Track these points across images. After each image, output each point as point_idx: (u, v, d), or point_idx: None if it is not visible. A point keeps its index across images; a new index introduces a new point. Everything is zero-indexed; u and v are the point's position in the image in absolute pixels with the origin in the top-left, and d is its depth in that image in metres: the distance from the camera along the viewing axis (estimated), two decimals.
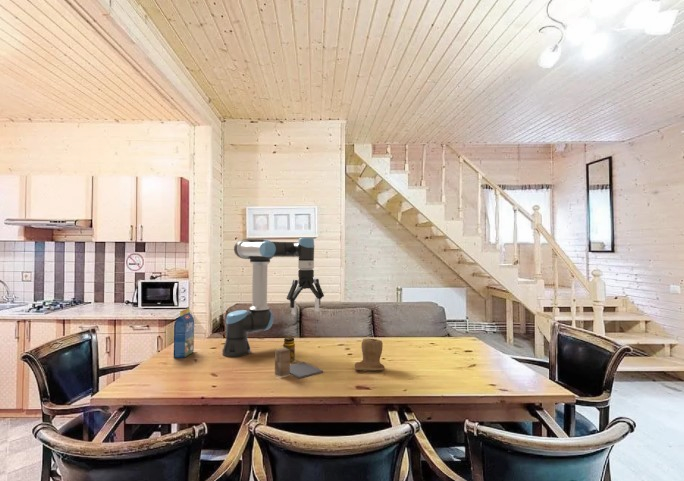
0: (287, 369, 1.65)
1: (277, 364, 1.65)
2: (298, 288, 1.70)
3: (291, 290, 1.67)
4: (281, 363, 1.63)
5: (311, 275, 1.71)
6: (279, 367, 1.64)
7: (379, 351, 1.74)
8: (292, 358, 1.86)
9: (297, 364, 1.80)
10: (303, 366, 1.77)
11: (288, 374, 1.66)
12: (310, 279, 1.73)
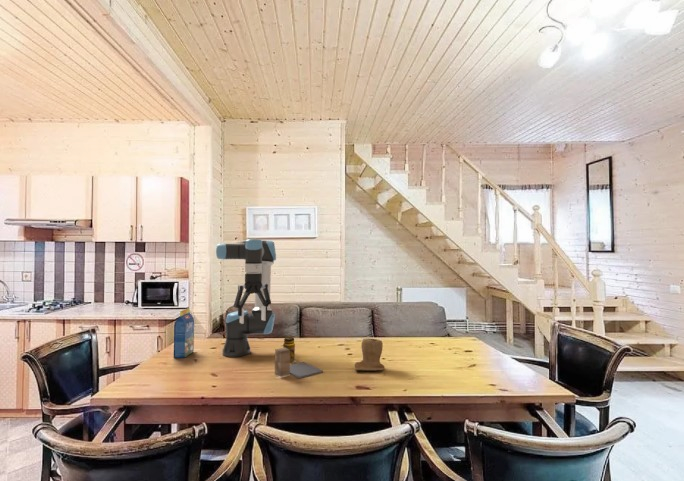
0: (287, 369, 1.65)
1: (277, 364, 1.65)
2: (245, 294, 1.60)
3: (237, 297, 1.58)
4: (281, 363, 1.63)
5: (258, 279, 1.61)
6: (279, 367, 1.64)
7: (379, 351, 1.74)
8: (292, 358, 1.86)
9: (297, 364, 1.80)
10: (303, 366, 1.77)
11: (288, 374, 1.66)
12: (258, 283, 1.63)
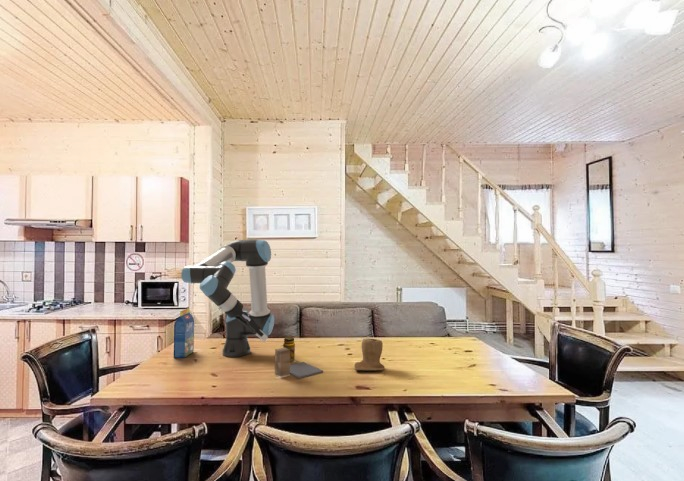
0: (287, 369, 1.65)
1: (277, 363, 1.65)
2: None
3: None
4: (281, 363, 1.63)
5: (229, 316, 1.50)
6: (279, 367, 1.64)
7: (379, 351, 1.74)
8: (292, 358, 1.86)
9: (297, 364, 1.80)
10: (303, 366, 1.77)
11: (288, 374, 1.66)
12: (238, 315, 1.51)
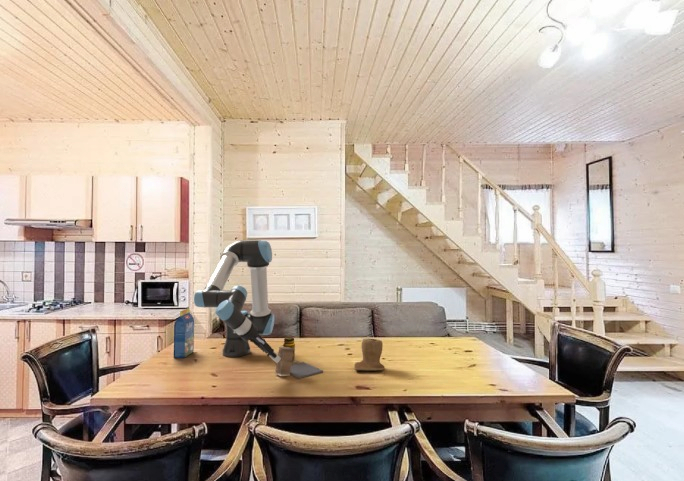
0: (288, 368, 1.66)
1: (279, 361, 1.66)
2: None
3: None
4: (283, 361, 1.64)
5: (244, 340, 1.53)
6: (280, 365, 1.64)
7: (379, 351, 1.74)
8: (292, 358, 1.86)
9: (297, 364, 1.80)
10: (303, 366, 1.77)
11: (288, 374, 1.66)
12: (252, 338, 1.55)
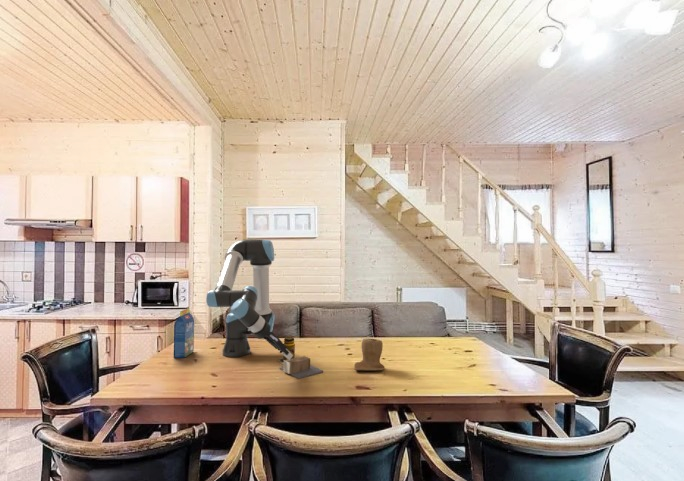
0: (294, 370, 1.68)
1: (296, 359, 1.72)
2: None
3: None
4: (300, 361, 1.70)
5: (258, 337, 1.58)
6: (295, 360, 1.70)
7: (379, 351, 1.74)
8: (292, 358, 1.86)
9: None
10: None
11: (290, 372, 1.66)
12: (266, 336, 1.59)
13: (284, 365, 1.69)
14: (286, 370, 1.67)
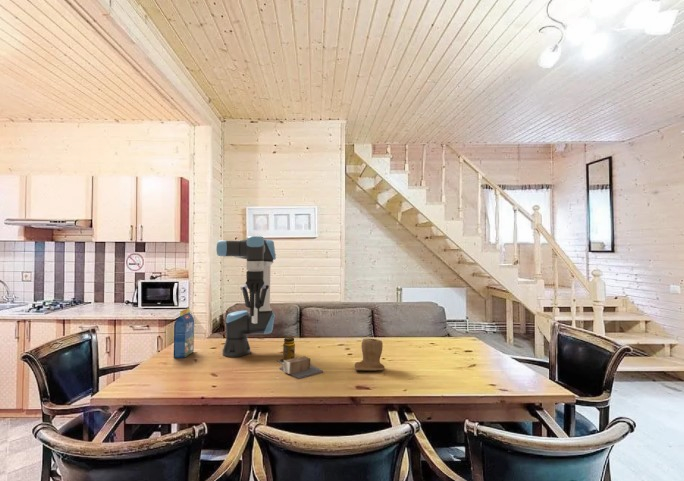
0: (294, 370, 1.68)
1: (296, 359, 1.72)
2: (250, 293, 1.59)
3: (245, 298, 1.57)
4: (300, 361, 1.70)
5: (260, 277, 1.58)
6: (295, 360, 1.70)
7: (379, 351, 1.74)
8: (292, 358, 1.86)
9: None
10: None
11: (290, 372, 1.66)
12: (259, 281, 1.60)
13: (284, 365, 1.69)
14: (286, 370, 1.67)
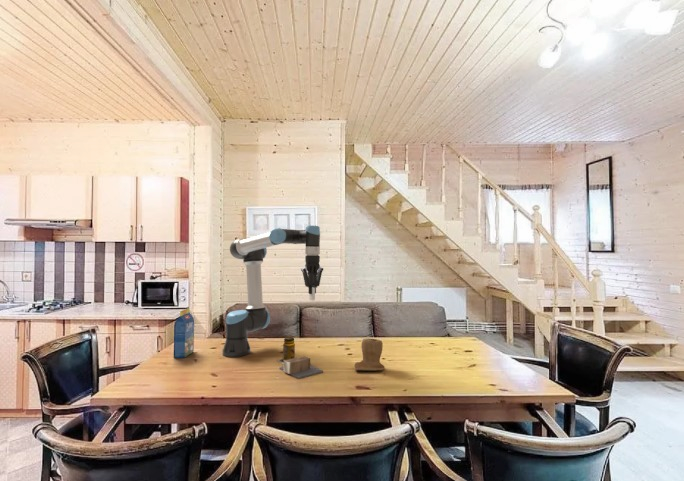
0: (294, 370, 1.68)
1: (296, 359, 1.72)
2: (309, 274, 1.85)
3: (305, 278, 1.83)
4: (300, 361, 1.70)
5: (317, 260, 1.84)
6: (295, 360, 1.70)
7: (379, 351, 1.74)
8: (292, 358, 1.86)
9: None
10: None
11: (290, 372, 1.66)
12: (316, 264, 1.87)
13: (284, 365, 1.69)
14: (286, 370, 1.67)
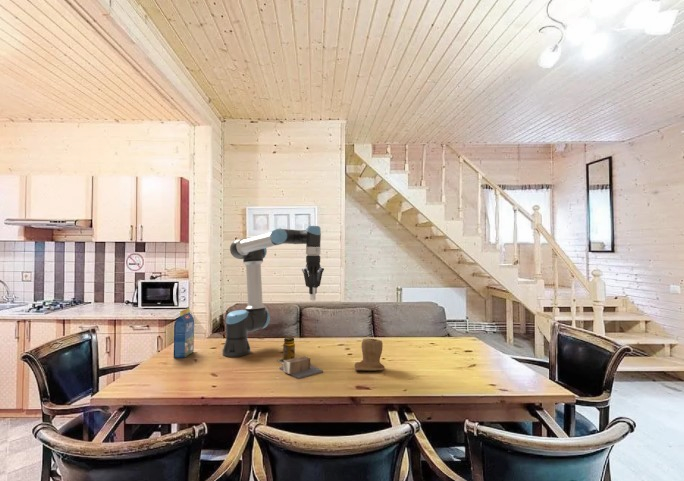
0: (294, 370, 1.68)
1: (296, 359, 1.72)
2: (310, 275, 1.86)
3: (306, 278, 1.84)
4: (300, 361, 1.70)
5: (318, 260, 1.85)
6: (295, 360, 1.70)
7: (379, 351, 1.74)
8: (292, 358, 1.86)
9: None
10: None
11: (290, 372, 1.66)
12: (317, 264, 1.87)
13: (284, 365, 1.69)
14: (286, 370, 1.67)
